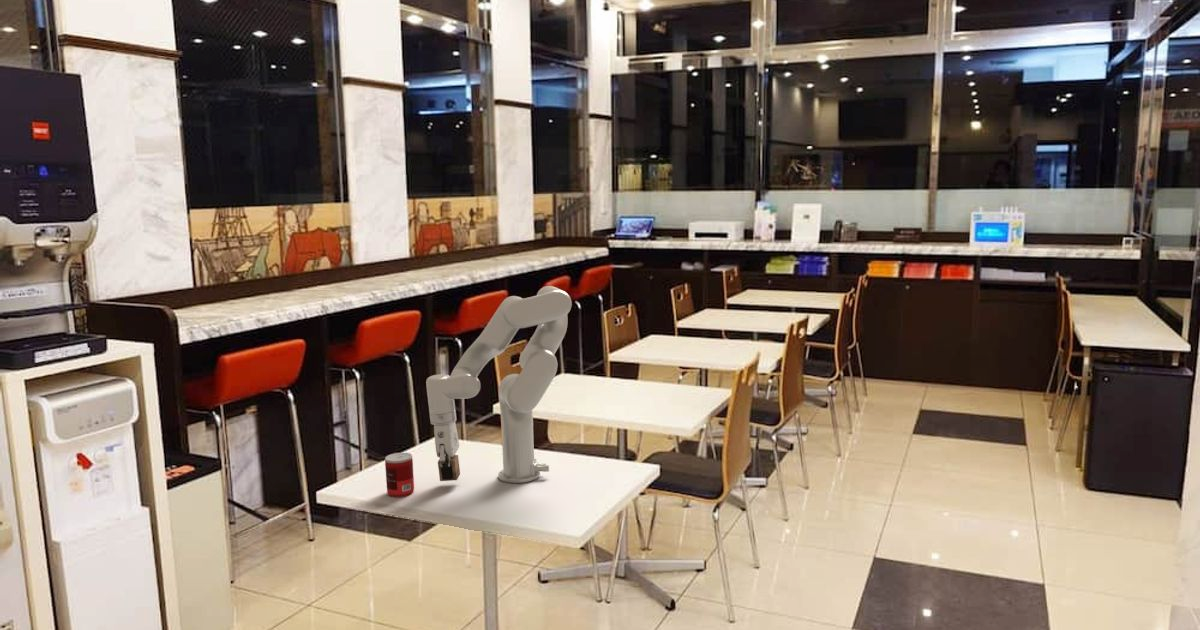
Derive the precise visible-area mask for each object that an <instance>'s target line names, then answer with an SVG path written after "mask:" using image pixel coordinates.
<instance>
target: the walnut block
mask: <svg viewBox="0 0 1200 630" xmlns="http://www.w3.org/2000/svg"><path fill="white" fill-rule="evenodd" d="M459 459H460V458H459V455H458V454H455V455H454V456H453V457H451V456H450V460H451V466H452V471H453V479H448V480H443V479H442V473H441V463H440V458H439V459H438V461H437V467H438V475H439V482H449V481H451V482H452V481H457V480H459V477H460V476H461V469H460V461H459ZM445 460H447V461H448V458H445Z"/></svg>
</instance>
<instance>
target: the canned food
mask: <svg viewBox="0 0 1200 630" xmlns="http://www.w3.org/2000/svg"><path fill="white" fill-rule="evenodd" d="M413 460H414V459H413V455H412V454H411V453H409V452H394V453H391V454H388V455H386V456H385V457H384V464H385V466H384V467H385V483H386V493H387V495H388V496H389V497H391V498H404V497H407V496H410V495H412V494H413V493H414V491H415V478H414V464H413V463H414V461H413Z"/></svg>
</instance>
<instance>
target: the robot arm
mask: <svg viewBox="0 0 1200 630" xmlns="http://www.w3.org/2000/svg"><path fill="white" fill-rule="evenodd" d="M572 303H573V302H572V299H571V296H570V295H569V294H568V293H567V292H566V291H564V290H562V289H560V288H558V287H555V286H553V285H546V286H543V287H542V288H540V289H539V290H538V291H537V293H536V295H533V296H530V297H526V298H525V297H524V298H522V297H521V296H517V295H511V296H507V297H506V298H504V300H503V301H502V302H501V304H499V306H498V307H497V309H496V311H495V312H494V313H493V316H492V317H491V318H490V320H489V322H488V323H487V325H486V326H485V327H484V329H483V330H482V332H481V333H480V334H479V336H478V337H477V338H476V339H474V341H473V342H472V344H471V345H470V346H469V347H468V348H467V349H466V351H464V353H463V354H462V356H461V357H460V359H459V360H458V362H457V363H456V365H455V366H454V368H453V370H452V371H451V373H450V375H449V374H446V373H445V374H444V373H443V374H442V373H440V374H433V375H431V376H429V377H427V378H426V382H425V383H426V385H425V386H426V395H427V403H428V412H429V419H430V420H429V421H430V424H431V425H433V433H434V444H435V452H436V456H437V457H438V458H439V459H440V463H441V473H442V479H443V480H448V479H453V471H452V466H451V460H450V456H451V457H453V456H454V455H456V453H457V451H458V450H459V449H460V442H459V435H458V430H457V424H456V422H457V412H456V411H457V410H456V404H455V399H456V400H458V399H459V400H463V399H464V400H465V399H467V400H468V399H471V398H474V397H476V396H477V395H478V394H479V392H480V391H481V387H482V386H481V381H480V379H479V378H478V376H479V375H480V373H481V372H482V370H483V368H484V367H485V366H486V365H488V363H489V361H491V360H492V359H494V358H495V357H498V356H500V355H501V354H503V353H504V352H505V351H506V349H507V348H508V346H509V345H510V343H511V342H512V340H513V339H514V337H515V336H516V334H517V332H518V331H519V330H520V329H526V328H531V327H535V326H537V327H536V329H535V331H534V333H533V334H532V336H531V338H530V340H529V341H528V342H527V344H526V345H525V348H523V350H522V352H521V353H520V356H519V360H518V361H519V362H518V363H519V365H520V368H521V370H520V373H512V374H508V375H506V376H505V377H504V378H503V379H502V380H501V381H500V383H499V387H498V401H499V408H500V421H501V422H500V423H501V440H502V441H501V444H502V445H501V446H502V467H503V469H502V470H499V472H498V479H499V480H500V481H502V482H504V483H511V484H522V483H529V482H532V481H535V480H537V479H538V478H539V477H540V475H541V472H545V473H546V472H547V473H548V472H550V465H548V464H547V463H539V462H537V458H535V448H534V446H535V445H534V444H535V443H534V417H533V416H534V415H533V410H534V409H536V407H537V406H538V404H539V403H540V401H541V400H542V398H543V397H544V395H545V393H546V392H547V389H549V387H550V385H551V384H552V382H553V381H554V378H555V377H556V374H557V371H558V365H559V364H558V360H557V359H558V358H557V356H556V355H555V354H556V352H557V350H558V349H559V348H560V346H561V343H562V342H563V339H564V338H565V336H566V333H567V330H568V329H567V328H568V322H569V321H568V314H569V313H570V311H571V309H572V306H573V304H572ZM445 458H448V461H447V460H445Z"/></svg>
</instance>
